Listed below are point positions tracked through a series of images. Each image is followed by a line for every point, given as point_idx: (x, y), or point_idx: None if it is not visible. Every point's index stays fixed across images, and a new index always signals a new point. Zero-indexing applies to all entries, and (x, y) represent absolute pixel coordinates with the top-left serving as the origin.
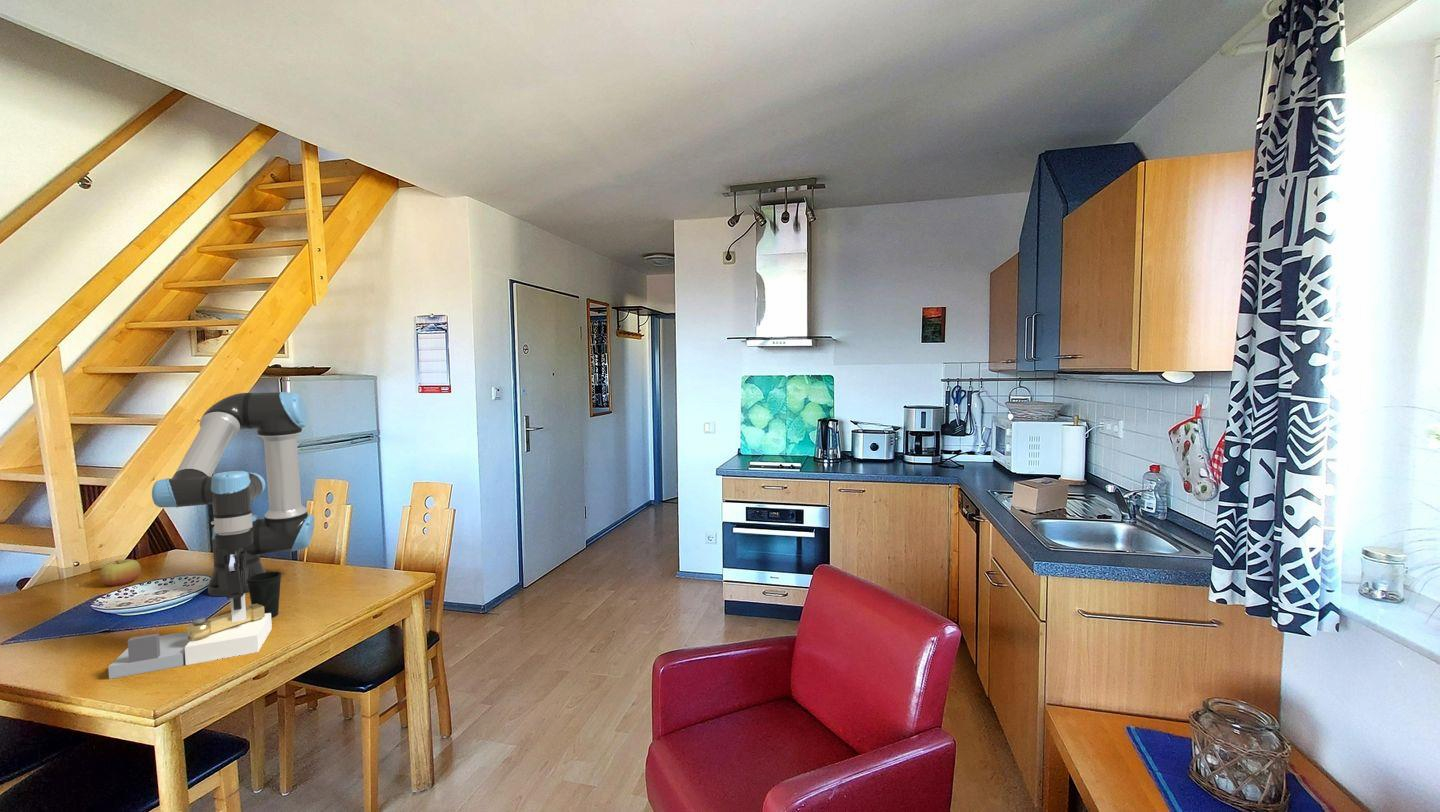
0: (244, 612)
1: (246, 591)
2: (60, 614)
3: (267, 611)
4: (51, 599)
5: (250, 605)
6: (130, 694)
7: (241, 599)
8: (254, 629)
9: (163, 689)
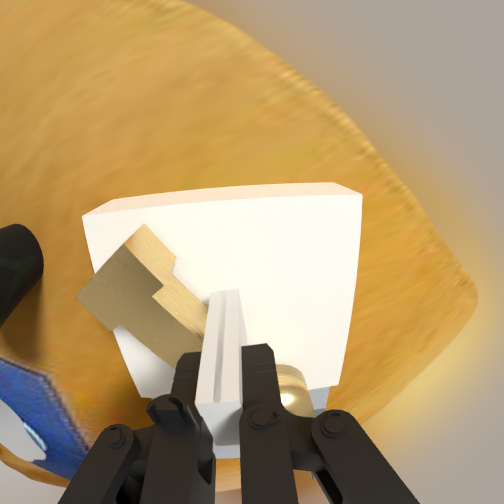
0: (238, 315)
1: (188, 413)
2: (55, 473)
3: (23, 252)
4: (29, 470)
5: (99, 315)
6: (406, 372)
7: (241, 389)
8: (284, 224)
9: (425, 331)
